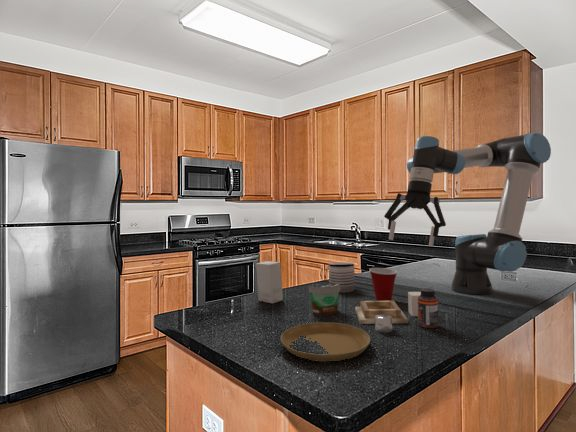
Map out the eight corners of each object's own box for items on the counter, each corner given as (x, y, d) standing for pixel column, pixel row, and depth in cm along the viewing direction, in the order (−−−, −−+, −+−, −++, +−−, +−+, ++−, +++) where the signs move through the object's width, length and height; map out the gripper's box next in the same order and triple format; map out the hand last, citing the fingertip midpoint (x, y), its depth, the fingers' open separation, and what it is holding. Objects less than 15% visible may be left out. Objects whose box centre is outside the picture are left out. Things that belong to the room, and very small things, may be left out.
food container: (318, 318, 127) (317, 289, 126) (309, 314, 132) (308, 286, 132) (348, 312, 132) (347, 284, 132) (338, 308, 138) (337, 281, 137)
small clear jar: (390, 327, 116) (390, 314, 116) (393, 332, 112) (393, 319, 111) (374, 327, 117) (373, 314, 117) (376, 332, 112) (376, 319, 112)
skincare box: (283, 300, 152) (281, 262, 151) (271, 304, 147) (270, 264, 146) (268, 297, 157) (267, 260, 157) (257, 300, 152) (255, 262, 152)
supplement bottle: (414, 323, 119) (414, 287, 118) (433, 322, 119) (432, 286, 119) (423, 329, 113) (422, 292, 112) (442, 328, 113) (441, 291, 113)
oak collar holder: (397, 309, 134) (397, 299, 134) (408, 323, 119) (407, 311, 119) (355, 310, 135) (354, 299, 135) (360, 323, 120) (359, 312, 120)
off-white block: (423, 311, 130) (422, 291, 130) (427, 316, 125) (427, 295, 125) (408, 311, 131) (408, 292, 130) (412, 316, 126) (411, 295, 125)
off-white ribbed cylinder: (326, 291, 164) (325, 264, 163) (333, 285, 174) (332, 259, 174) (352, 293, 159) (351, 264, 159) (357, 287, 170) (356, 260, 169)
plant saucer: (359, 330, 115) (359, 319, 115) (381, 365, 91) (381, 351, 91) (280, 334, 114) (280, 323, 114) (281, 370, 90) (281, 356, 90)
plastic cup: (400, 304, 140) (399, 272, 140) (370, 303, 142) (369, 272, 142) (397, 296, 151) (396, 266, 150) (369, 296, 153) (369, 267, 152)
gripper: (381, 176, 133) (371, 236, 132) (457, 182, 119) (446, 248, 118) (388, 181, 139) (379, 237, 138) (461, 187, 125) (451, 250, 124)
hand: (410, 242), depth 128 cm, fingers open, 13 cm apart
